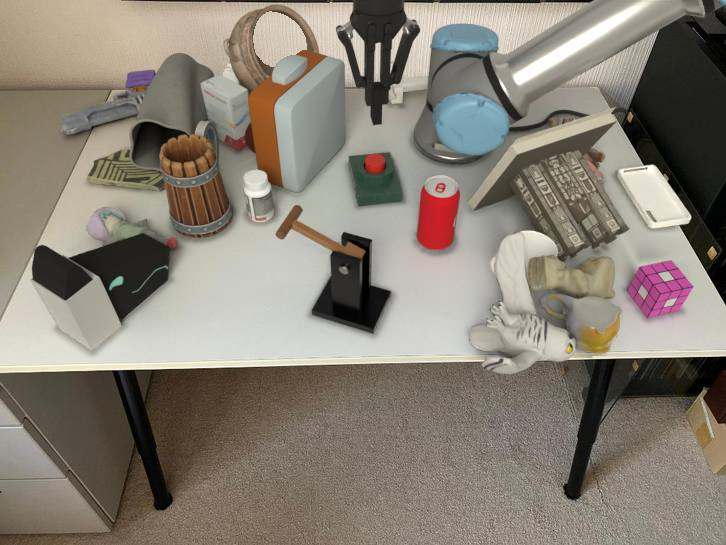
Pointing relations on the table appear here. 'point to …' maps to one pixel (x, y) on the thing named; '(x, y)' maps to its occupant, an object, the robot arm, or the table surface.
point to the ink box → (227, 109)
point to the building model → (557, 185)
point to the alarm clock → (299, 118)
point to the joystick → (406, 87)
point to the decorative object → (99, 285)
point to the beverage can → (438, 212)
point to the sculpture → (573, 277)
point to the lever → (314, 234)
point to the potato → (249, 138)
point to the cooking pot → (242, 46)
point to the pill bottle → (258, 196)
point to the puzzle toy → (659, 288)
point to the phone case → (653, 196)
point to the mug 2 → (587, 320)
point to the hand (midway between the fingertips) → (376, 120)
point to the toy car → (230, 74)
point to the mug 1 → (195, 183)
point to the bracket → (352, 289)
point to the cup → (534, 248)
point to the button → (375, 163)
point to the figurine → (590, 157)
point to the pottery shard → (124, 173)
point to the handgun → (111, 105)
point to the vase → (168, 109)
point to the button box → (375, 181)
